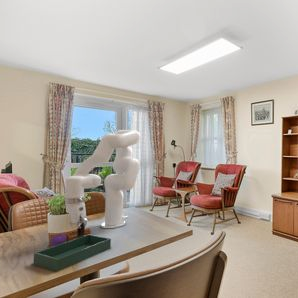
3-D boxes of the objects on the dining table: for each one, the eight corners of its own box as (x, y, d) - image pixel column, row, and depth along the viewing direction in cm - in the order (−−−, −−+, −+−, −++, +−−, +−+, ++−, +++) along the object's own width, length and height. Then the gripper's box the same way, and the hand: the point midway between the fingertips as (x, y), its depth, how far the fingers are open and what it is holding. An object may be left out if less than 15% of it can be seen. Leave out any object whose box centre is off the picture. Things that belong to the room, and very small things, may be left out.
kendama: (94, 227, 125) (59, 238, 105) (91, 238, 124) (56, 250, 105) (84, 224, 126) (49, 234, 106) (81, 235, 125) (45, 247, 105)
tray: (89, 243, 113) (89, 234, 113) (110, 248, 109) (110, 238, 109) (33, 264, 92) (33, 252, 92) (56, 271, 87) (57, 259, 87)
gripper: (94, 200, 116) (93, 233, 117) (70, 197, 122) (70, 228, 122) (79, 204, 109) (78, 239, 110) (54, 200, 115) (54, 233, 115)
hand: (74, 233), depth 116 cm, fingers open, 9 cm apart
